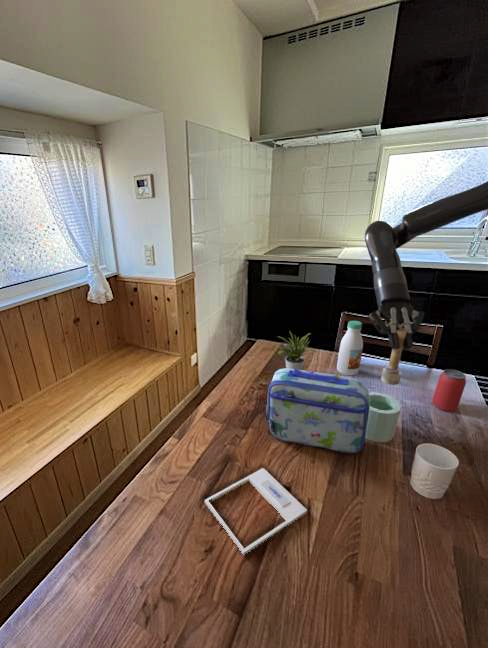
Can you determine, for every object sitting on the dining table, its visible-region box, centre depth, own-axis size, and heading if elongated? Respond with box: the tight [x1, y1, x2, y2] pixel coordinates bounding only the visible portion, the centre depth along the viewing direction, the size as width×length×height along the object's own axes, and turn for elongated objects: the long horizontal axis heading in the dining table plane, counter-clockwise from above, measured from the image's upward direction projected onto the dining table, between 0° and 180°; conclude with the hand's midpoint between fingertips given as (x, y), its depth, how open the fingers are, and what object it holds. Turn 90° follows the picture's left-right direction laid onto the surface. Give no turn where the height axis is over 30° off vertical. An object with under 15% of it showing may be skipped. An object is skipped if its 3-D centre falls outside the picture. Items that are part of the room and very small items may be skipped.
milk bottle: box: [336, 320, 364, 376], centre depth 125 cm, size 8×8×20 cm
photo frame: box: [204, 467, 308, 557], centre depth 77 cm, size 15×1×18 cm
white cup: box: [409, 442, 460, 500], centre depth 78 cm, size 8×8×10 cm
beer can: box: [431, 368, 467, 412], centre depth 104 cm, size 7×7×12 cm
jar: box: [365, 391, 402, 443], centre depth 96 cm, size 10×10×10 cm
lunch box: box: [265, 367, 370, 454], centre depth 93 cm, size 26×11×21 cm, turn 65°
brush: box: [380, 328, 407, 386], centre depth 89 cm, size 4×4×15 cm
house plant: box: [274, 330, 312, 370], centre depth 127 cm, size 14×14×16 cm
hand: (402, 348), depth 85 cm, fingers closed on brush, 2 cm apart
